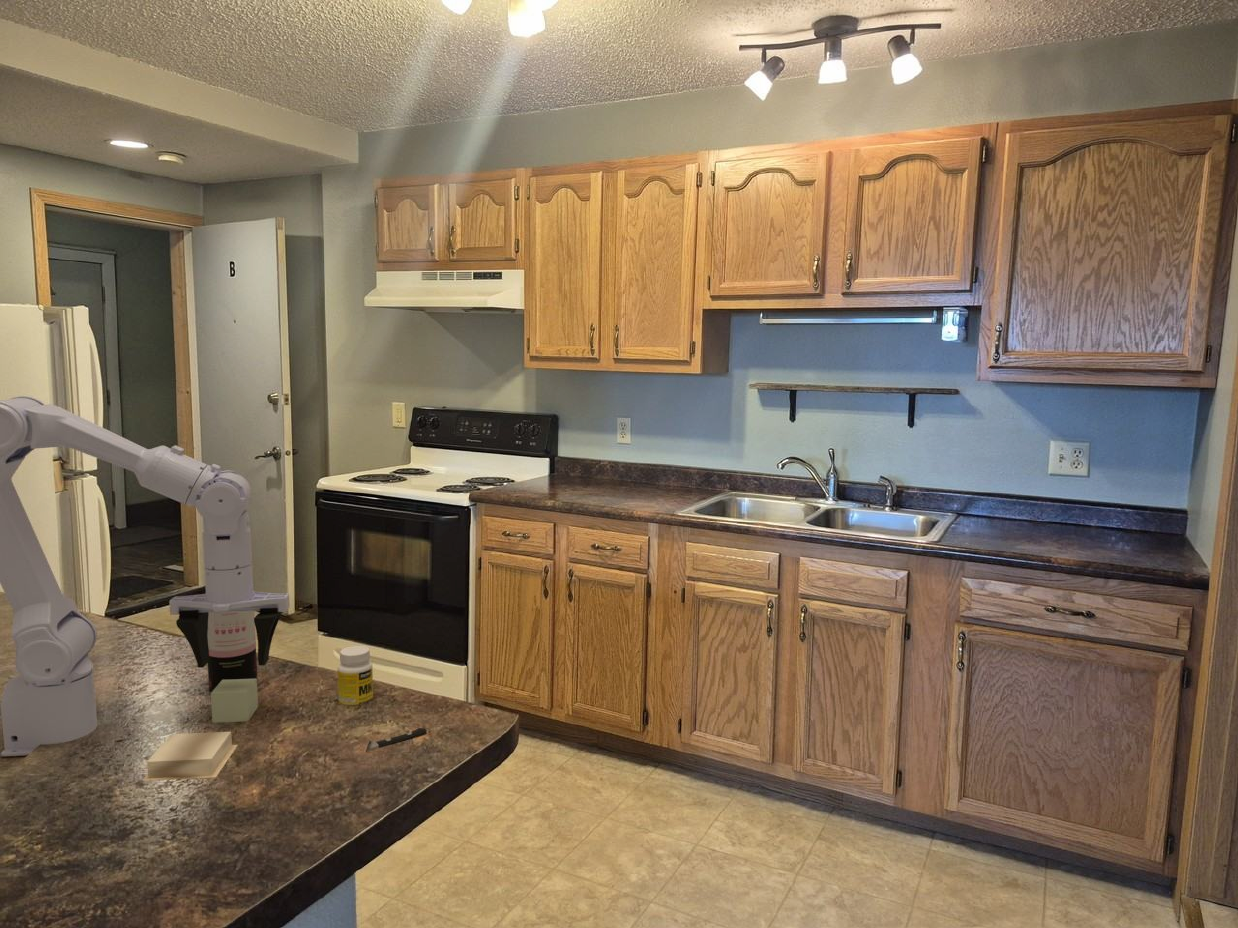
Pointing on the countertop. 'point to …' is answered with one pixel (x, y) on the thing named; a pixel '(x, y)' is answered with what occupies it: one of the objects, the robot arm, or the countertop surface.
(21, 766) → the countertop surface
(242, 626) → the beverage can
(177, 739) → the tan square tile
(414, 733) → the chef's knife
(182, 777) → the tower base
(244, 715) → the green block
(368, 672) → the supplement bottle
